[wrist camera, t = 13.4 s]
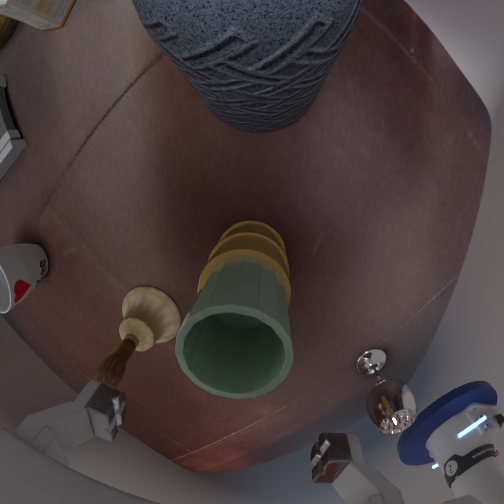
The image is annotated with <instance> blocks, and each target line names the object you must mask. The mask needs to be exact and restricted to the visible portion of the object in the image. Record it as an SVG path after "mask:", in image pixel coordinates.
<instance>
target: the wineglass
mask: <svg viewBox="0 0 504 504" xmlns="http://www.w3.org/2000/svg"><path fill="white" fill-rule="evenodd" d="M385 362H386V354H385V353H384V351H382V350H380V349H372V350H369V351H367V352H365V353H364V354H362V355H361V356H360V358H359V359H358V361H357V369H358V371H359V372H361V373H363V374H371V373H374V372H375V374H376V377H377V384H376V385H375V386H374V387H373V388H372V389H371V391H370V392H369V394H368V396H367V400H366V407H367V412H368V415H369V417H370V419H371V421H372V422H373V424H374V425H375V427H376V428H377V429H378V430H379V432H380V433H382V434H384V435H394V434H397V433H400V432H402V431H403V430H405V429H407V428H408V427H409V426H411V424H412V423H413V422H414V421H415V419H416V417H417V410H416V404H415V400H414V397H413V394H412V392H411V390H410V388H409V387H408V385H407V384H406V383H405V382H403V381H402V380H399V379H386V380H384V379H383V378H382V377H381V376H380V375H379V373H378V370H380V369H381V368H382V367H383V365H384V364H385Z"/></svg>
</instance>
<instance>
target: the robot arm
mask: <svg viewBox="0 0 504 504" xmlns="http://www.w3.org/2000/svg"><path fill="white" fill-rule="evenodd" d="M124 399H125V393H124V392H122V391H120V390H117V389H115V388H112V387H110V386H107V385H105V384H103V383H100V382H98V381H95V380H93V379H92V380H90V381H89V382H88V383H87V384H86V386H85V387H84V388H83V390H82V391H81V392H80V394H79V395H78V396H77V398H76V399H75V401H74V402H71V401H70V402H67V403H64V404H61V405H58V406H55V407H52V408H49V409H46V410H43V411H40V412H37V413H34V414H31V415H28V416H27V417H26V418H25V419H24V421H23V422H22V423H21V424H20V426H19V427H18V428H17V430H16V431H15V432H14V433H12V432H11V431H9V430H7V429H6V428H5V427H4V426H2V425H1V424H0V504H160V503H156V502H153V501H150V500H147V499H143V498H141V497H138V496H135V495H132V494H129V493H126V492H124V491H121V490H119V489H116V488H113V487H111V486H109V485H106V484H104V483H101V482H99V481H97V480H94V479H92V478H90V477H88V476H86V475H84V474H82V473H79V472H77V471H75V470H73V469H71V468H69V462H68V460H67V458H66V456H65V454H64V452H66V451H68V450H70V449H72V448H74V447H75V446H77V445H79V444H81V443H83V442H85V441H86V440H88V439H90V438H92V437H94V435H95V436H98V437H100V438H103V439H105V440H108V441H111V442H113V440H114V438H115V436H116V434H117V432H118V429H117V426H118V425H121V424H122V422H123V420H124V418H125V415H126V404H125V403H124V402H123V401H124ZM499 409H500V408H499V406H497V405H489V404H482V403H476V402H473V403H471V404H470V405H468V406H467V407H466V408H465V409H464V410H463V411H461V412H460V413H458V414H456V415H454V416H453V417H451V418H450V419H448V420H447V421H445V422H444V423H443V424H442V425H440V426H439V427H438V428H437V429H436V430H435V431H434V432H433V433H432V434H431V435H430V437H429V438H428V440H427V442H426V448H427V450H428V451H429V455H430V457H431V458H434V460H435V462H436V463H437V464H436V465H434V466H432V468H435V467H437V466H438V467H439V468H440V470H441V472H442V473H443V474H445V476H444V477H445V479H446V483H447V484H448V486H449V488H452V491H453V493H454V495H455V498H456V499H453V500H450V501H447V502H444V503H440V504H504V472H503V471H502V469H501V468H500V466H499V464H498V463H497V461H496V459H495V457H496V456H497V455H498V454H497V455H496V456H495V454H496V453H497V452H498V450H497V451H496V452H495V450H494V445H493V443H494V441H495V438H496V436H497V434H498V431H499V429H500V427H501V426H502V424H503V422H504V417H503V416H502V415H501V414H499V415H497V414H498V412H499ZM311 463H312V464H313V465H314V466H315V467H314V468H313V470H312V479H313V483H332V485H333V487H334V488H335V489H336V491H337V492H338V493H339V495H340V496H341V497H342V498H343V500H344V501H345V502H346V503H347V504H404V501H403V498H402V494H401V491H400V490H399V489H398V488H397V487H395V486H394V485H393V484H392V483H391V482H390V481H388V480H387V479H386V478H385V477H384V476H383V475H382V474H381V473H379V472H378V471H377V470H376V469H375V468H374V467H373V466H372V465H371V464H369V463H368V462H364V458H363V454H362V450H361V446H360V443H359V440H358V436H357V434H353V433H325V432H323V433H321V434H320V436H319V441H318V442H317V443H315V444H314V446H313V448H312V451H311Z"/></svg>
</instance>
